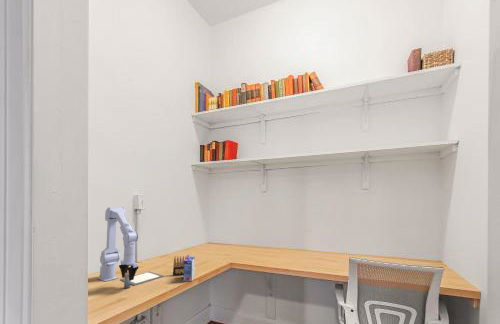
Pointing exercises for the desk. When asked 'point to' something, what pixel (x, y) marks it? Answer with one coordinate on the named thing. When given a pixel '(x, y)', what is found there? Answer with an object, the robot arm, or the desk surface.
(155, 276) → the writing mat
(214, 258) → the desk surface
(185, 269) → the blue drink carton
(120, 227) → the robot arm
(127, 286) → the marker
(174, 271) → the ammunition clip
